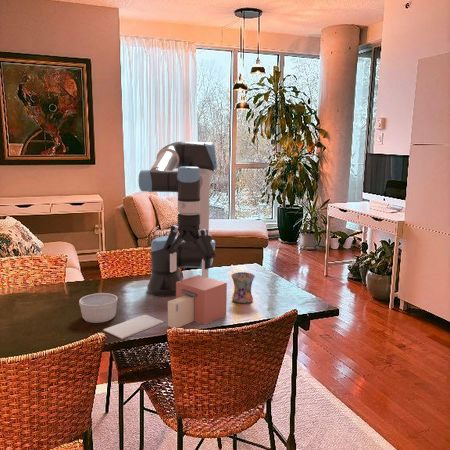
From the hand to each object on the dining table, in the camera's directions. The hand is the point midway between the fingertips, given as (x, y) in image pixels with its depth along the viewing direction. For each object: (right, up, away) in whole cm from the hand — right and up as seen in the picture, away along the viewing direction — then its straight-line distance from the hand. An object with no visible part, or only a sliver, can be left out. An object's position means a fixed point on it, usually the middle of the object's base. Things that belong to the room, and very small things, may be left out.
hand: (188, 274), depth 154 cm
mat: (-19, -18, 0) cm, 26 cm away
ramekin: (-33, -16, +8) cm, 38 cm away
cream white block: (-1, -17, +5) cm, 18 cm away
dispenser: (+4, -16, +12) cm, 20 cm away
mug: (+19, -13, +28) cm, 37 cm away
